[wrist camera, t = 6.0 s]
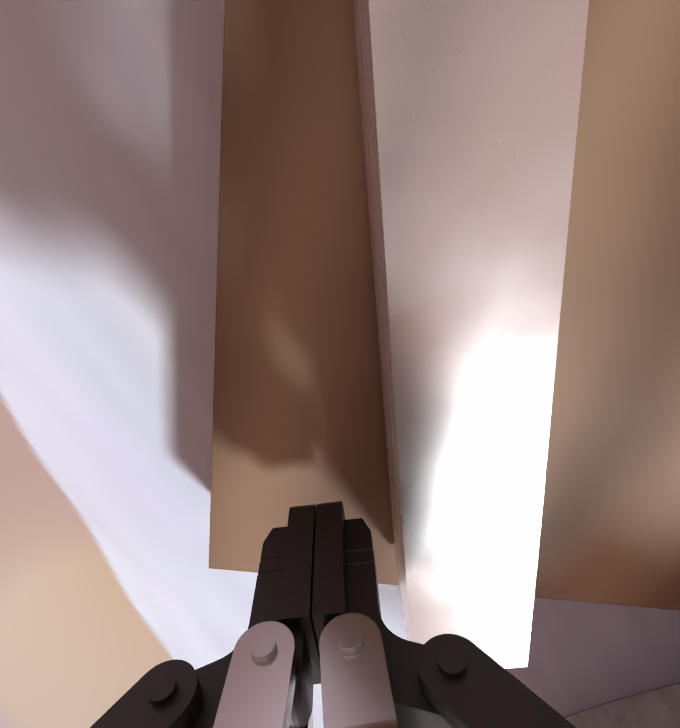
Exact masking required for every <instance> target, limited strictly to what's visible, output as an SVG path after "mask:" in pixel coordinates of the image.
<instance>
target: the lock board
mask: <svg viewBox="0 0 680 728" xmlns="http://www.w3.org/2000/svg"><path fill="white" fill-rule="evenodd" d="M338 501H342V502H343V507H344V514H345V520H348V519H357V518H363V520H364V521H365V523H366V524H367V526H368V527H369V529H370V530H371V534H372V542H373V550H374V557H375V565H376V573H377V582H378V583H381V584H392V585H399V580H398V573H397V566H396V559H395V548H394V535H393V521H392V508H391V495H390V482H389V469H388V456H387V443H386V429H385V416H384V403H383V390H382V377H381V364H380V350H379V337H378V324H377V311H376V298H375V285H374V271H373V258H372V245H371V232H370V219H369V206H368V192H367V179H366V166H365V153H364V140H363V127H362V114H361V100H360V87H359V74H358V61H357V48H356V35H355V21H354V8H353V0H225V13H224V48H223V84H222V119H221V155H220V190H219V226H218V261H217V297H216V332H215V368H214V403H213V439H212V474H211V510H210V545H209V568H213V569H224V570H235V571H246V572H258V570H259V564H260V562H261V560H260V558H261V552H262V546H263V542H264V541H265V539H266V538H267V536H268V535H269V533H270V532H271V530H272V528H277V527H286V526H287V525H288V516H289V509H290V507H295V506H304V505H313V504H316V506H317V504H321V503H329V502H338ZM534 597H537V598H549V599H560V600H571V601H582V602H593V603H605V604H616V605H627V606H638V607H649V608H661V609H672V610H680V0H589V6H588V17H587V28H586V39H585V50H584V61H583V71H582V82H581V93H580V104H579V115H578V126H577V137H576V147H575V158H574V169H573V180H572V191H571V202H570V213H569V223H568V234H567V245H566V256H565V267H564V278H563V289H562V299H561V310H560V321H559V332H558V343H557V354H556V365H555V375H554V386H553V397H552V408H551V419H550V430H549V441H548V452H547V462H546V473H545V484H544V495H543V506H542V517H541V528H540V538H539V549H538V560H537V571H536V582H535V593H534Z"/></svg>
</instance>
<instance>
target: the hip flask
mask: <svg viewBox="0 0 680 728" xmlns="http://www.w3.org/2000/svg"><path fill="white" fill-rule="evenodd" d="M564 718H565V719H566V720H567V721H569V722H570V723H571V724H572V725H573V726H575V727H576V728H680V683H679V684H675V685H671V686H667V687H663V688H659V689H655V690H651V691H647V692H644V693H640V694H636V695H633V696H629V697H626V698H622V699H619V700H616V701H612V702H609V703H606V704H603V705H599V706H596V707H593V708H590V709H587V710H584V711H581V712H578V713H576V714H573V715H570V716H567V717H564Z"/></svg>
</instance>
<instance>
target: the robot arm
mask: <svg viewBox="0 0 680 728" xmlns="http://www.w3.org/2000/svg"><path fill="white" fill-rule="evenodd" d="M260 560H261V562H260V564H259V570H258V576H257V582H256V587H255V593H254V599H253V605H252V611H251V617H250V623H249V627H248V630H247V631H245V632H244V634H243V635H242V636H241V637H240V638H239V640H238V641H237V643H236V645H235V648H234V650H233V651H232V652H231V653H230V654H228V655H227V656H225V657H223V658H221V659H219V660H217V661H215V662H213V663H210V664H208V665H206V666H203V667H201V668H199V669H196V670H194V668H193V667H192V666H191V664H189V663H188V662H186V661H183V660H169V661H166V662H163V663H161V664H159V665H157V666H155V667H154V668H152V669H151V670H150V671H148V672H147V673H146V674H145V675H144V676H143V677H142V678H141V679H140V680H139V681H138V682H137V683H136V684H135V685H134V686H133V687H132V688H131V689H130V690H128V691H127V692H126V693H125V694H124V695H123V696H122V697H121V698H120V699H119V700H118V701H117V702H116V703H115V704H114V705H113V706H112V707H111V708H110V709H109V710H108V711H107V712H106V713H105V714H104V715H103V716H102V717H101V718H100V719H98V720H97V721H96V722H95V723H94V724H93V725H92V726H91V727H90V728H313V713H312V705H313V684H320V683H321V687H322V705H323V723H324V728H576V727H575V726H573V725H572V724H571V723H570V722H569V721H567V720H566V719H565V718H564V717H562V716H561V715H560V714H559V713H558V712H556V711H555V710H554V709H553V708H552V707H550V706H549V705H548V704H547V703H545V702H544V701H543V700H542V699H541V698H539V697H538V696H537V695H536V694H534V693H533V692H532V691H531V690H530V689H528V688H527V687H526V686H525V685H524V684H522V683H521V682H520V681H519V680H517V679H516V678H515V677H514V676H513V675H511V674H510V673H509V672H508V671H507V670H505V669H504V668H503V667H502V666H500V665H499V664H498V663H497V662H496V661H494V660H493V659H492V658H491V657H489V656H488V655H487V654H486V653H485V652H483V651H482V650H481V649H480V648H479V647H477V646H476V645H475V644H474V643H472V642H471V641H470V640H468V639H466V638H464V637H462V636H459V635H456V634H440V635H437V636H434V637H433V638H431V639H429V640H428V641H427V642H426V643H425V644H420V643H416V642H412V641H408V640H404V639H402V638H400V637H398V636H396V635H395V634H393V633H392V632H391V631H390V630H388V628H387V627H386V626H385V625H384V623H383V621H382V619H381V611H380V602H379V592H378V582H377V573H376V565H375V557H374V550H373V542H372V534H371V530H370V529H369V527H368V526H367V524H366V523H365V521H364V520H363V518H357V519H348V520H345V514H344V507H343V502H342V501H338V502H329V503H321V504H317V506H316V504H313V505H304V506H295V507H290V509H289V516H288V525H287V526H286V527H277V528H272V530H271V532H270V533H269V535H268V536H267V538H266V539H265V541H264V542H263V546H262V552H261V558H260Z"/></svg>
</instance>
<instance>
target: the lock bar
mask: <svg viewBox="0 0 680 728" xmlns="http://www.w3.org/2000/svg"><path fill="white" fill-rule="evenodd" d="M588 6H589V0H353V8H354V21H355V35H356V48H357V61H358V74H359V87H360V100H361V114H362V127H363V140H364V153H365V166H366V179H367V192H368V206H369V219H370V232H371V245H372V258H373V271H374V285H375V298H376V311H377V324H378V337H379V350H380V364H381V377H382V390H383V403H384V416H385V429H386V443H387V456H388V469H389V482H390V495H391V508H392V521H393V535H394V548H395V559H396V566H397V573H398V580H399V587H400V594H401V600H402V607H403V614H404V621H405V628H406V635H407V640H408V641H412V642H416V643H420V644H425V643H426V642H427V641H428V640H429V639H431V638H433V637H434V636H437V635H440V634H456V635H459V636H462V637H464V638H466V639H468V640H470V641H471V642H472V643H474V644H475V645H476V646H477V647H479V648H480V649H481V650H482V651H483V652H485V653H486V654H487V655H488V656H489V657H491V658H492V659H493V660H494V661H496V662H497V663H498V664H499V665H500V666H502V667H503V668H504V669H509V668H522V667H528V658H529V647H530V636H531V625H532V614H533V604H534V593H535V582H536V571H537V560H538V549H539V538H540V528H541V517H542V506H543V495H544V484H545V473H546V462H547V452H548V441H549V430H550V419H551V408H552V397H553V386H554V375H555V365H556V354H557V343H558V332H559V321H560V310H561V299H562V289H563V278H564V267H565V256H566V245H567V234H568V223H569V213H570V202H571V191H572V180H573V169H574V158H575V147H576V137H577V126H578V115H579V104H580V93H581V82H582V71H583V61H584V50H585V39H586V28H587V17H588Z"/></svg>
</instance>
